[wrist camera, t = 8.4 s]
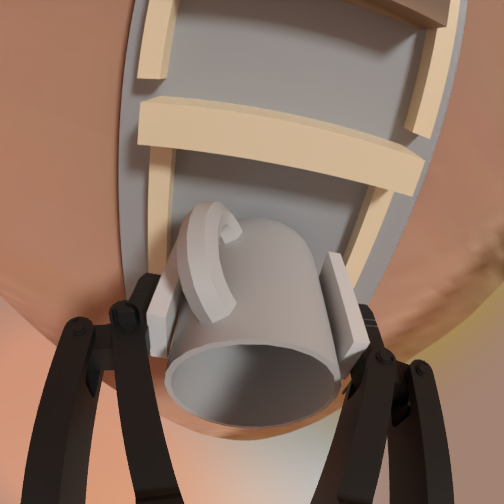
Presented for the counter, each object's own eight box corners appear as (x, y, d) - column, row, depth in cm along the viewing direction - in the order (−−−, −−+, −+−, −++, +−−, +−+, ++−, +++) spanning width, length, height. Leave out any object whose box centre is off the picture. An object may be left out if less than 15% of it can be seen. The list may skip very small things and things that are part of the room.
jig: (173, -101, 7) (154, -130, 4) (460, -31, 9) (497, -41, 5) (132, 299, 24) (115, 337, 20) (344, 331, 25) (354, 370, 22)
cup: (226, 319, 22) (216, 434, 14) (152, 199, 17) (81, 309, 9) (325, 290, 20) (352, 410, 13) (272, 149, 15) (288, 239, 8)
